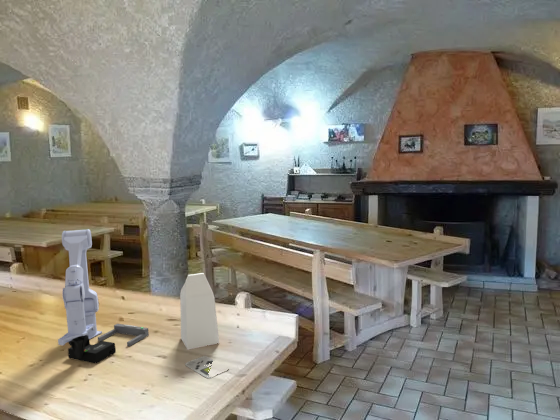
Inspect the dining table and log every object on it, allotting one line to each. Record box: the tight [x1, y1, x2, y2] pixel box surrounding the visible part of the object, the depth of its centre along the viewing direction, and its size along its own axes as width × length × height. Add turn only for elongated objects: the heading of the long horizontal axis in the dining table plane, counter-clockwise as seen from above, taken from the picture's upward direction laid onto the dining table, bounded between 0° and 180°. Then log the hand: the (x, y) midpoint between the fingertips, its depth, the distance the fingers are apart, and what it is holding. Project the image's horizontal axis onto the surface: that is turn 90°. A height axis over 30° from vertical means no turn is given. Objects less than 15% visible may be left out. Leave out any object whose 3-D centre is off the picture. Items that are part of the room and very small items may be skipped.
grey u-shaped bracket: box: [97, 323, 150, 347], centre depth 182 cm, size 15×11×3 cm
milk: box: [179, 272, 220, 351], centre depth 176 cm, size 12×12×26 cm
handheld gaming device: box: [184, 355, 214, 379], centre depth 155 cm, size 9×1×15 cm
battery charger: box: [67, 339, 117, 364], centre depth 167 cm, size 13×10×4 cm
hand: (79, 357), depth 162 cm, fingers closed
